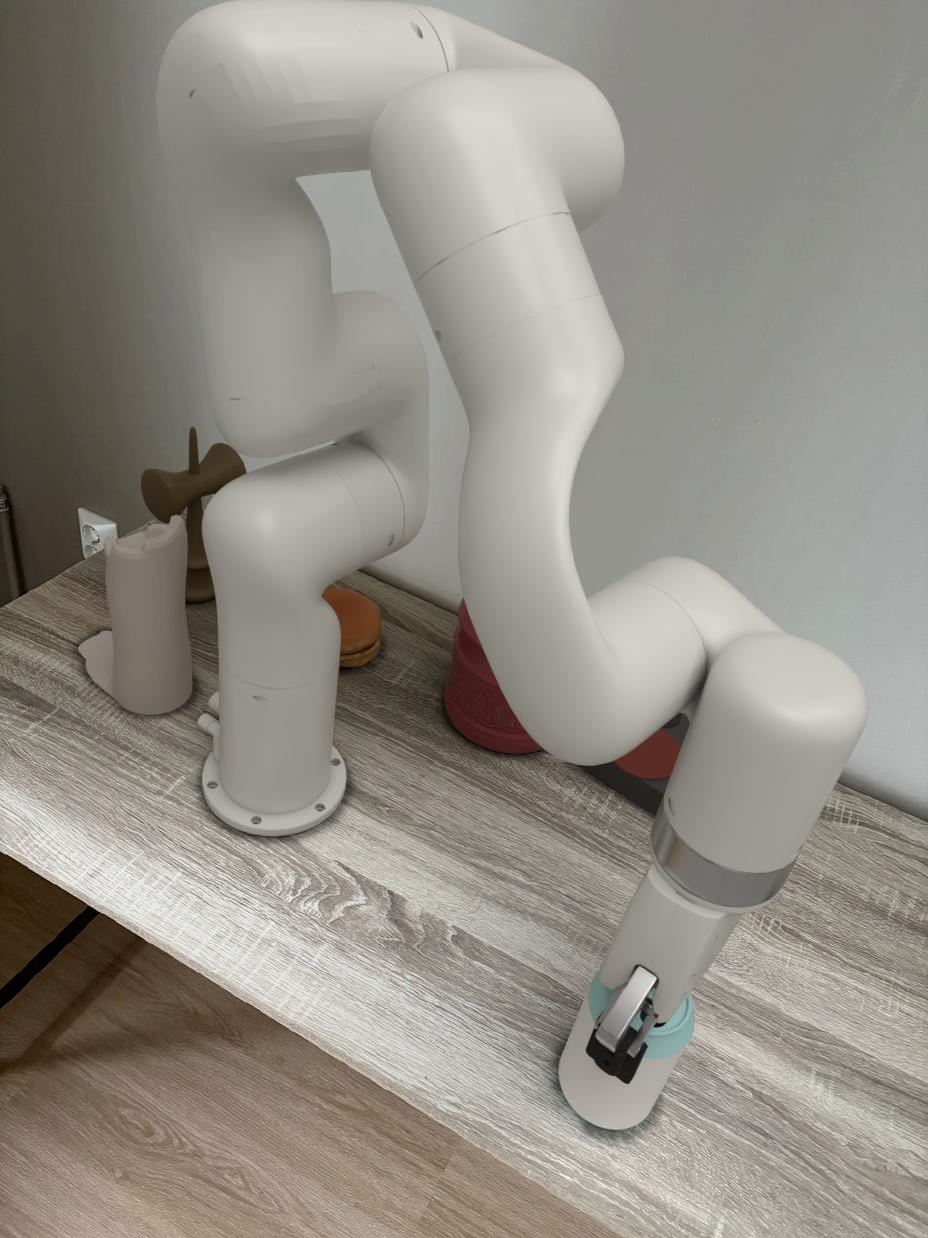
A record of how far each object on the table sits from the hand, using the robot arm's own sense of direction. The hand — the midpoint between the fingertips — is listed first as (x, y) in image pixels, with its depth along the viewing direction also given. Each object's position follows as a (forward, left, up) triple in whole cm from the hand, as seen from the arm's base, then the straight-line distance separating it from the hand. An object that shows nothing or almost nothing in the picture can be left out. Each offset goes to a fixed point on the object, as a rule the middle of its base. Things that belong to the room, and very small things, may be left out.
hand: (646, 1012), depth 64 cm
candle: (-57, +3, -10) cm, 58 cm away
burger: (-47, +21, -10) cm, 53 cm away
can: (0, 0, -10) cm, 10 cm away
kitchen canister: (-28, +26, -10) cm, 40 cm away
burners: (-11, +31, -7) cm, 34 cm away
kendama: (-63, +16, -10) cm, 66 cm away
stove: (-11, +31, -10) cm, 35 cm away
